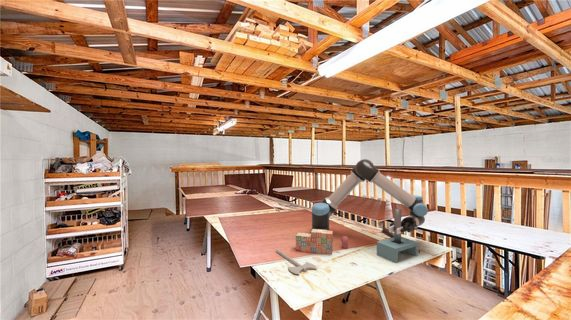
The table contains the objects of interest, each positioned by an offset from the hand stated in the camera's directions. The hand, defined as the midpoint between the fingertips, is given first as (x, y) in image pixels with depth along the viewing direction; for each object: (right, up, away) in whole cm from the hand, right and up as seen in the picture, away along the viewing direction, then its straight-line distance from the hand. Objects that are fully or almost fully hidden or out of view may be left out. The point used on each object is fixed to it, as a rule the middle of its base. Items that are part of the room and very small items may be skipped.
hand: (393, 230), depth 134 cm
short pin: (-23, -15, +15) cm, 32 cm away
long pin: (+4, -13, +4) cm, 14 cm away
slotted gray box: (+15, -15, +27) cm, 35 cm away
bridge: (+4, -15, +4) cm, 16 cm away
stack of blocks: (-43, -15, +10) cm, 46 cm away
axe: (-57, -16, -4) cm, 59 cm away
